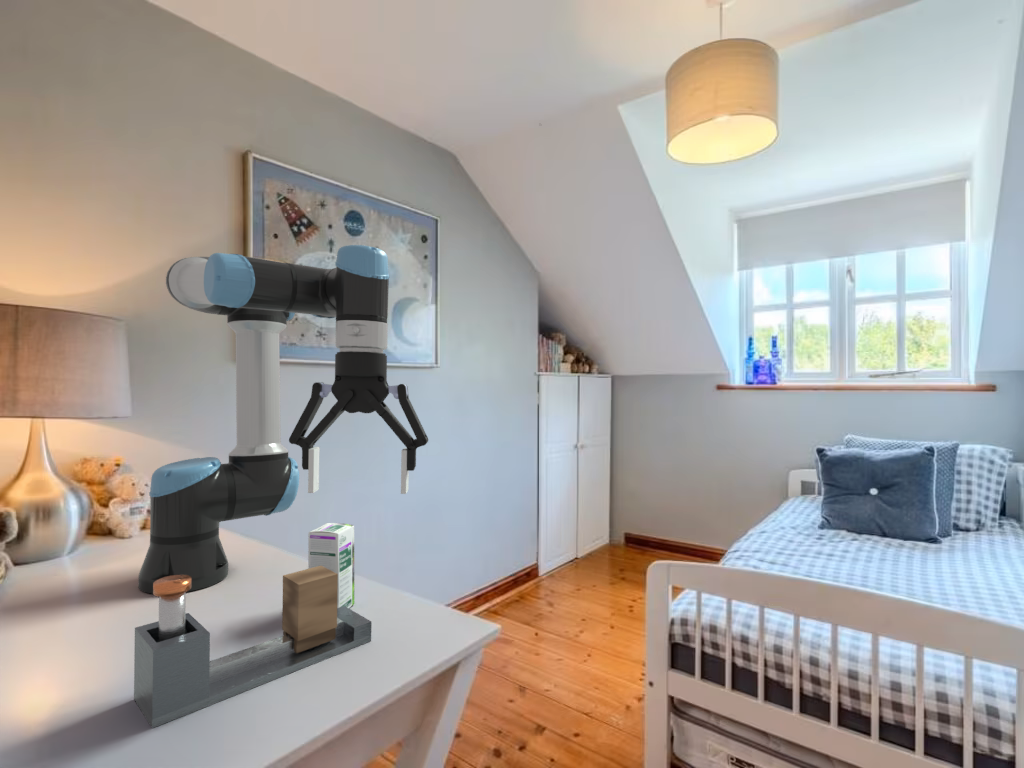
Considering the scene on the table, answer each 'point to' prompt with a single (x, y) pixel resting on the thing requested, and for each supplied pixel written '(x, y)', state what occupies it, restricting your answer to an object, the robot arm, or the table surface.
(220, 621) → the table surface
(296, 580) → the block
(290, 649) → the rail
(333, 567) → the syrup box
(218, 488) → the robot arm
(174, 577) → the plunger
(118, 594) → the table surface
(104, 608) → the table surface
